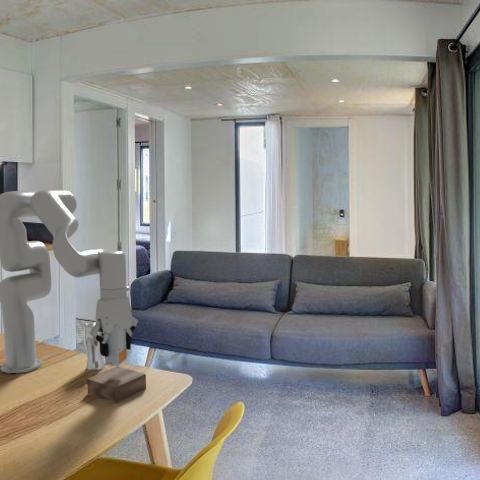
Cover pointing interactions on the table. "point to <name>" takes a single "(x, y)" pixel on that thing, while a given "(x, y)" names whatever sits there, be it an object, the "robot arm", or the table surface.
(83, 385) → the table surface
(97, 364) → the beer glass
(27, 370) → the robot arm
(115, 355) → the skincare box
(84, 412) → the table surface
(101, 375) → the walnut block
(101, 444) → the table surface
